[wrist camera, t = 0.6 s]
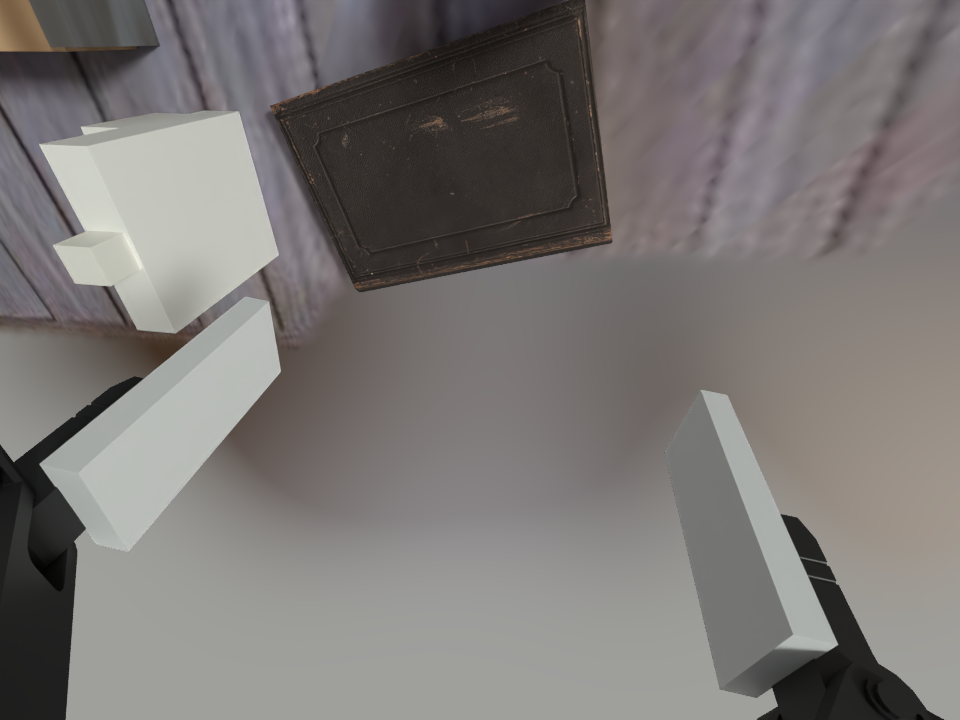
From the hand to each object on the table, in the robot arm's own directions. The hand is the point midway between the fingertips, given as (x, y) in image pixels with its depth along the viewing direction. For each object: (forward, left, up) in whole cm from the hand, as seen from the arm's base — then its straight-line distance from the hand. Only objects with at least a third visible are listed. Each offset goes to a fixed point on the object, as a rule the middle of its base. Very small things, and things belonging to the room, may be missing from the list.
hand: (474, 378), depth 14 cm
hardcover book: (0, -6, -27) cm, 28 cm away
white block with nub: (+2, -27, -26) cm, 38 cm away
